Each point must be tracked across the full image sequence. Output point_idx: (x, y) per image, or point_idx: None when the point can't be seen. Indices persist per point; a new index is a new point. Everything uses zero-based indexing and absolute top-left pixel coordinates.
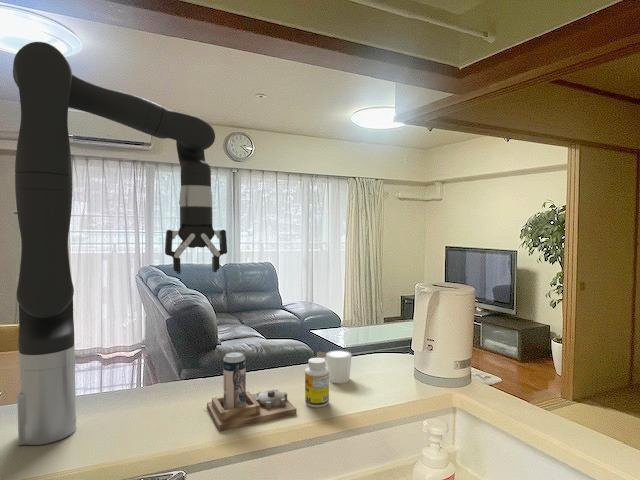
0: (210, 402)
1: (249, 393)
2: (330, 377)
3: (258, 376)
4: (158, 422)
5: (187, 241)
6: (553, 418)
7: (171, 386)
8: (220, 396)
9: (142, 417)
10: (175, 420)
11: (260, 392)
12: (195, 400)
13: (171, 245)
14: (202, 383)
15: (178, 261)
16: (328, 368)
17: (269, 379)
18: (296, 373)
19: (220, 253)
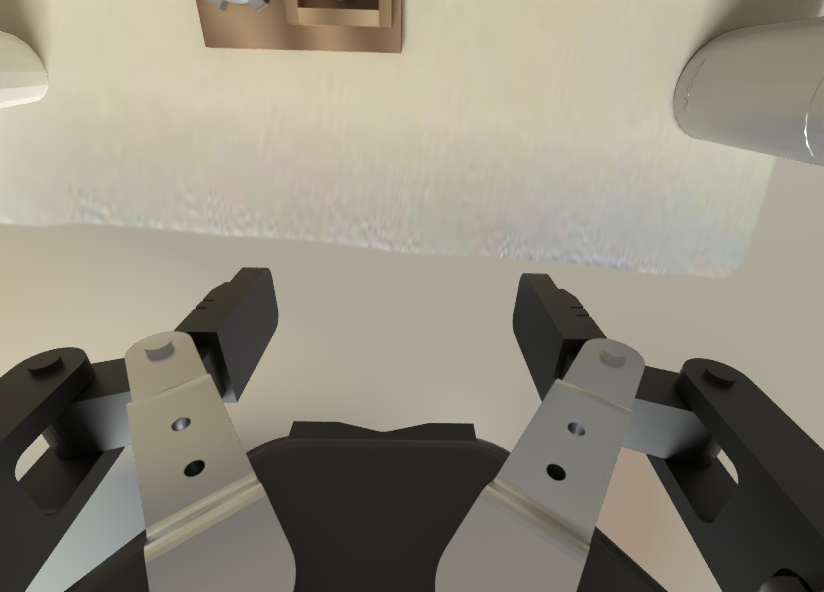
0: (392, 48)
1: (287, 1)
2: (32, 62)
3: (244, 200)
4: (521, 22)
5: (560, 482)
6: None
7: (448, 232)
8: (367, 23)
9: (544, 76)
10: (484, 12)
11: (254, 2)
12: (416, 118)
13: (755, 452)
14: (381, 218)
15: (570, 321)
16: (15, 69)
17: (219, 166)
18: (141, 173)
19: (122, 368)
